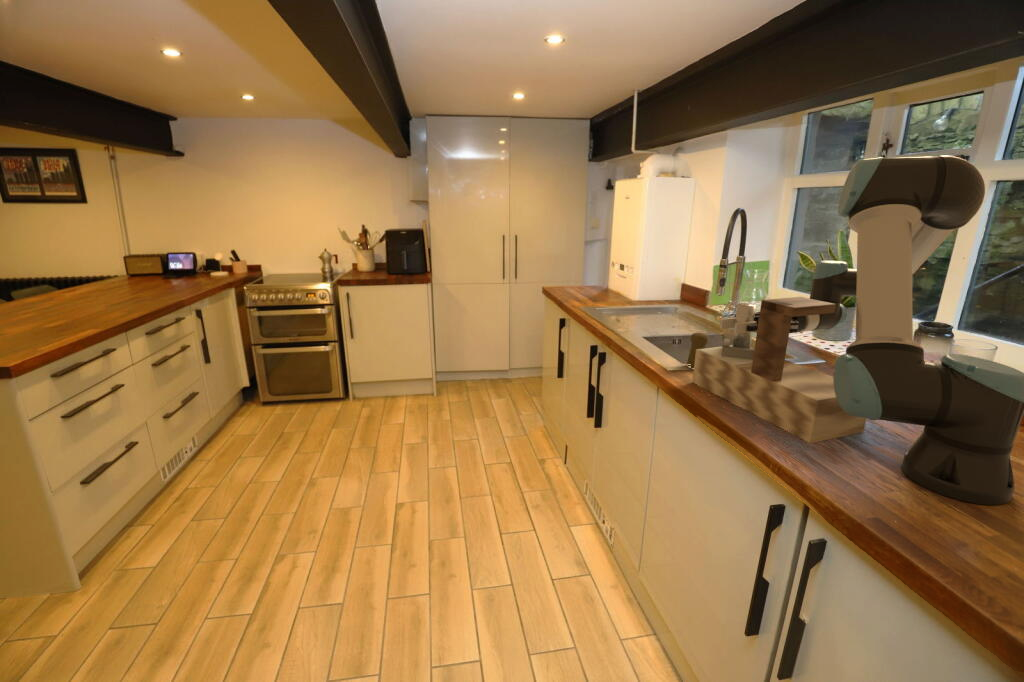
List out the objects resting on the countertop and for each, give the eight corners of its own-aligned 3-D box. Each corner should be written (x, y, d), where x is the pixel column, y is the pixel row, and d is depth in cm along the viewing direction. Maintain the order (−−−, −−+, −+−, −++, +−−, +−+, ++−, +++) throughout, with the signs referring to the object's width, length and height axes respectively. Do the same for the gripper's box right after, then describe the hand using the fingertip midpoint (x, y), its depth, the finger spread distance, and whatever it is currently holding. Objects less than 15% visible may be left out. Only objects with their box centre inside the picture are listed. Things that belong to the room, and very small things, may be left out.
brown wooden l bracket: (821, 379, 110) (836, 303, 105) (781, 385, 107) (795, 307, 102) (788, 367, 118) (800, 296, 113) (751, 372, 115) (761, 300, 110)
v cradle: (778, 360, 124) (780, 349, 123) (735, 366, 119) (737, 355, 119) (738, 345, 136) (739, 336, 136) (698, 350, 132) (699, 340, 131)
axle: (752, 350, 125) (757, 306, 122) (734, 350, 126) (739, 305, 123) (747, 346, 129) (753, 303, 126) (730, 345, 130) (735, 302, 127)
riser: (863, 432, 106) (872, 390, 103) (809, 443, 101) (818, 400, 98) (736, 376, 141) (741, 344, 138) (692, 382, 136) (696, 349, 133)
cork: (703, 371, 145) (707, 337, 142) (683, 367, 148) (687, 334, 145) (708, 366, 149) (712, 332, 146) (689, 362, 153) (693, 329, 150)
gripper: (821, 340, 124) (751, 349, 117) (768, 324, 140) (703, 331, 133) (827, 312, 122) (756, 319, 115) (772, 300, 138) (706, 305, 131)
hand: (728, 326), depth 124 cm, fingers closed on axle, 4 cm apart
